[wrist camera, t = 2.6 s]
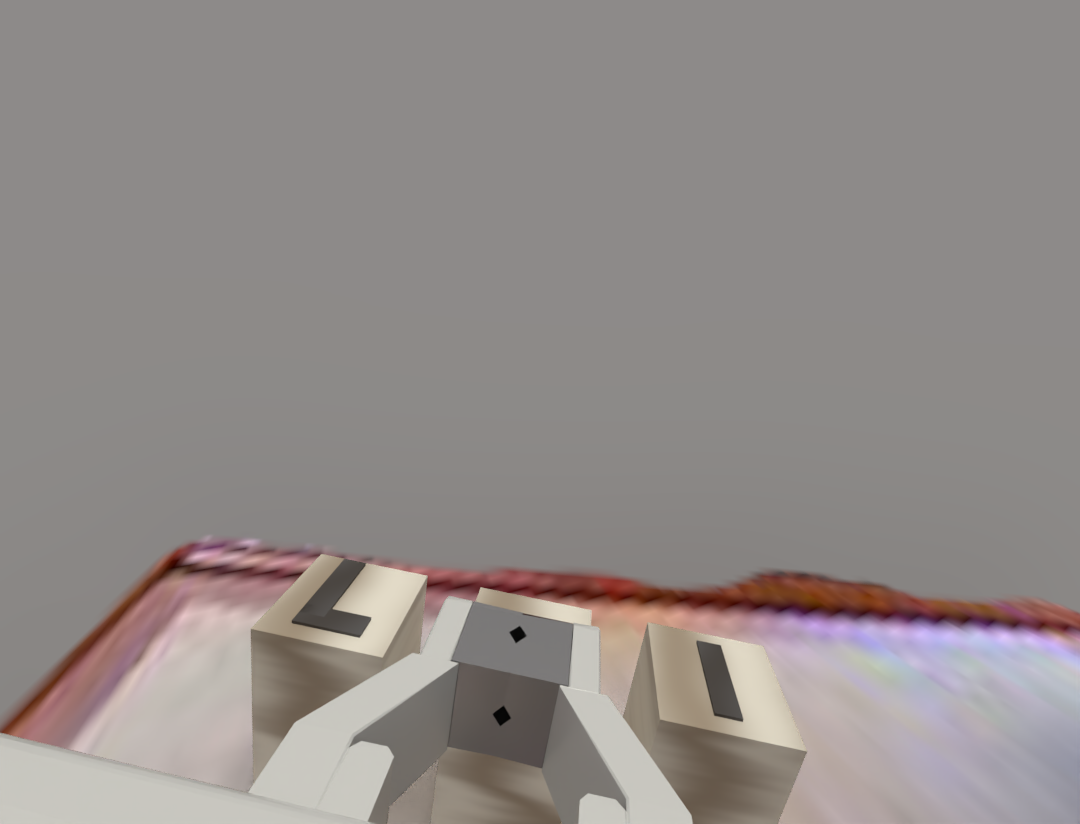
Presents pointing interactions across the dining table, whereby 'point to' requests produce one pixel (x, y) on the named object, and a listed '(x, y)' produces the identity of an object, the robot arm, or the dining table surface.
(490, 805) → the plain block
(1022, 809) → the dining table surface
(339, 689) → the block seven
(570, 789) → the robot arm
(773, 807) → the block one
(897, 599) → the dining table surface
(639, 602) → the dining table surface
